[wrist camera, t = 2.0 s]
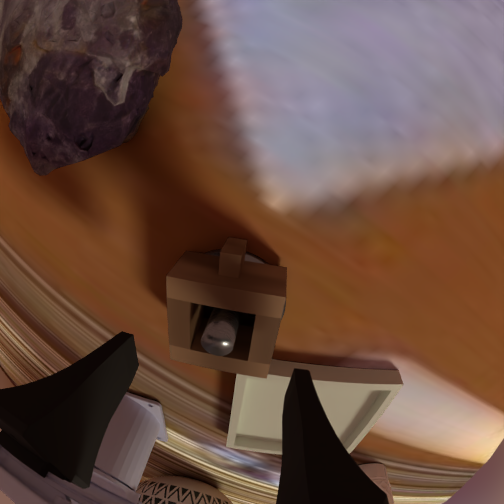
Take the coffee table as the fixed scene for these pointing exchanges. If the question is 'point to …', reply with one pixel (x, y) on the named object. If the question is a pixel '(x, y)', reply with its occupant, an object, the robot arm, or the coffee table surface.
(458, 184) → the coffee table surface
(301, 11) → the coffee table surface
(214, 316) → the grey knobbed lid
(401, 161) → the coffee table surface
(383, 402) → the tray
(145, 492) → the planter
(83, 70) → the rock
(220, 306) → the brown square frame
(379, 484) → the white cup
